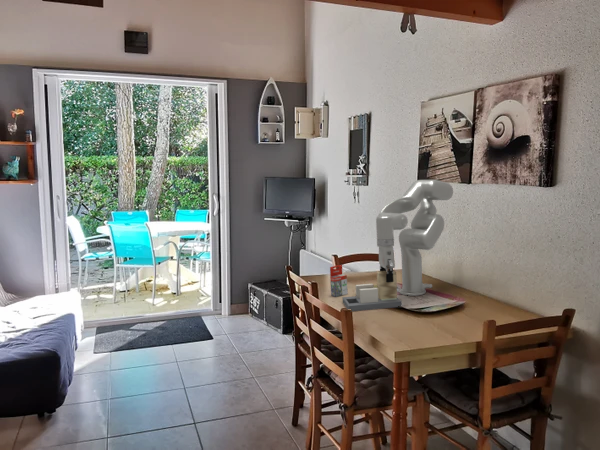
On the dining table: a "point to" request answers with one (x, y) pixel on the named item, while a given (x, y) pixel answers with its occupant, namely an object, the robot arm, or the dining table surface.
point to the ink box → (338, 281)
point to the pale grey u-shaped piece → (367, 293)
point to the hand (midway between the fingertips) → (386, 279)
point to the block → (386, 286)
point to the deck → (355, 303)
